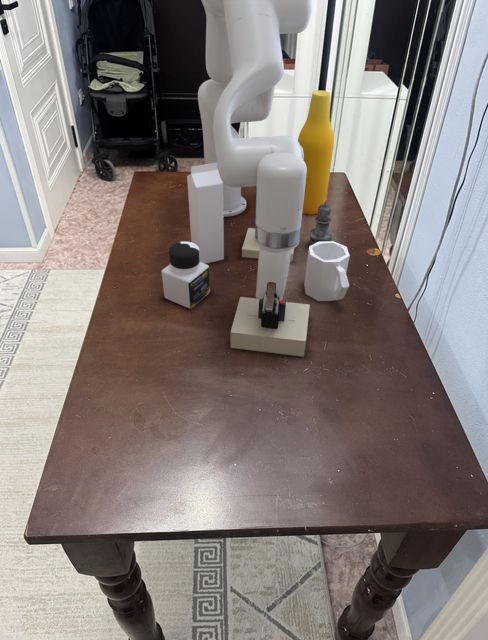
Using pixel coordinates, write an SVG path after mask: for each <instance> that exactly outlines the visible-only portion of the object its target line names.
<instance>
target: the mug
mask: <svg viewBox="0 0 488 640" xmlns="http://www.w3.org/2000/svg"><path fill="white" fill-rule="evenodd" d="M350 255H351V254H350V252H349V250H348V246H346V245H344V244H341V243H338V242H336V241H334V240H333V241H332V240H331V241H325V242H317V243H315V244H313V245H311V246H310V247H309V246H308V251H307V259H306V268H305V275H304V284H303V286H304V287H303V288H304V293H305V295H306V296H308V297H310V298H312V299H314V300H316V301H317V302H333V301H339V300H340V301H341V300H343V299H344V298H345V297H346V294H347V292H348V289H349V288H350V282H349V279H348V274H347V272H348V267H349V261H350Z"/></svg>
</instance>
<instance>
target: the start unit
mask: <svg viewBox="0 0 488 640" xmlns="http://www.w3.org/2000/svg"><path fill="white" fill-rule="evenodd" d="M259 250H260V247H259V246H258V245H257V244H256V242H255V227H254V228H253V227H248V228H247V231H246V235H245V237H244V241H243V244H242V247H241V258H248V259H249V258H250V259H257V260H258V259H259ZM294 253H295V248H294V249H292V250H291V257H290V263H293V260H294Z"/></svg>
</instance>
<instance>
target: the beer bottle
mask: <svg viewBox="0 0 488 640" xmlns="http://www.w3.org/2000/svg"><path fill="white" fill-rule="evenodd" d="M330 112H331V93H330V92H329V91H327V90H313V91H312V93H311V97H310V103H309V108H308V113H307V117H306V120H305V122H304V124H303V125H302V127H301V129H300V131H299V133H298V138H297V141H298V142H299V144H300V146H301V147H302V149H303V153H304V162H305V164H306V168H307V174H306V184H305V193H304V202H303V211H302V215H311V216H313V215H318V208H319V206H320V205H322V204H324V202H325V201H326V202H327V196H328V190H329V189H328V188H329V182H330V175H331V167H332V160H333V153H334V147H335V136H334V130H333V127H332V125H331V119H330V116H331V113H330Z"/></svg>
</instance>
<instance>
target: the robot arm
mask: <svg viewBox="0 0 488 640" xmlns="http://www.w3.org/2000/svg"><path fill="white" fill-rule="evenodd" d="M200 1H201V3H202V6H203V8H204V12H205V16H206V17H205V18H206V19H205V20H206V23H205V24H206V26H205V27H206V28H205V68H206V72H207V75H208V77H209V78H210V79H207V80H205V81H204V82H203V83H201V84H200V85H199V88H198V92H197V102H198V109H199V113H200V120H201V127H202V137H203V161H204V164H203V165H205V164H211V163H217V167H218V171H219V175H220V178H221V180H222V182H223V218H227V217H229V218H230V217H234V216H238V215H240V214H241V213H244V212H245V210H246V209H247V200H246V198H244V197H243V196H242V188H250V187H256V195H255V196H256V198H255V199H256V200H255V222H254V229H255V242H256V244H257V245H258V246H259V247H260V250H259V259H258V258H257V260H258V261H257V273H256V274H257V275H256V287H255V288H256V289H255V299H262V298H264V301H263V309H262V315H261V327H262V328H270V329H278V324H279V312H280V311H278V307H279V301H281V300H282V299H284V295H285V290H286V286H287V281H288V277H289V271H290V265H291V262H290V257H291V250H292V249H294V250H295V248H297V247H298V246H299V244H300V240H301V229H302V221H303V214H302V211H303V202H304V193H305V184H306V174H307V168H306V164H305V162H304V153H303V149H302V147H301V146H300V144H299V142H298V139H296V137H294V136H290V135H274V136H273V135H271V136H252V137H251V136H250V137H240V134H239V133H238V131H237V130H236V129H235V128H234V127H233V125H232V124H237V123H252V122H253V123H254V122H262V121H265V120H266V119H268V117H269V115H270V113H271V111H272V106H273V100H274V95H275V88H276V85H277V84H278V83H280V82H281V79H282V78H283V75H284V71H285V65H284V58H283V52H282V43H281V35H288V34H289V35H291V34H292V35H293V34H300V33H302V32H304V31H305V30H306V29H307V27H308V26H309V24H310V22H311V21H310V20H311V18H312V10H313V0H200ZM274 301H276V305H275V306H273V303H274Z"/></svg>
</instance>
